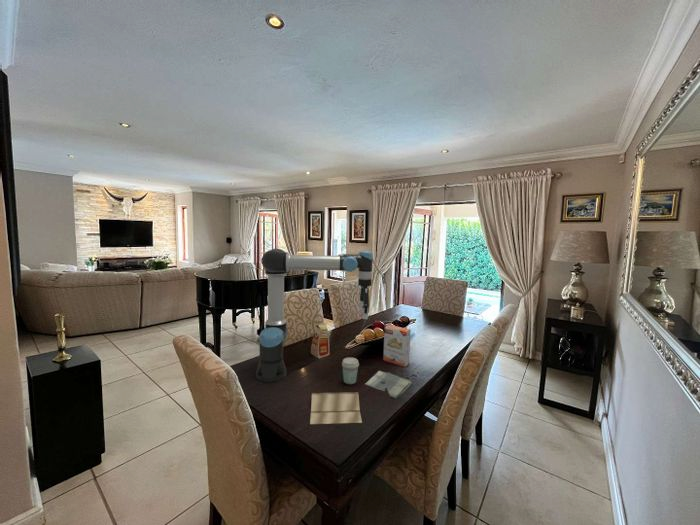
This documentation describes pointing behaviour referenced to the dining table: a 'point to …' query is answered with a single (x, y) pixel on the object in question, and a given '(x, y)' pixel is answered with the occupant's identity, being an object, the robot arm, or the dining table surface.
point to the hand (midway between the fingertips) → (363, 315)
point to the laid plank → (335, 417)
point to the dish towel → (389, 383)
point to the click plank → (335, 401)
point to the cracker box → (396, 345)
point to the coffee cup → (350, 370)
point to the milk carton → (320, 341)
